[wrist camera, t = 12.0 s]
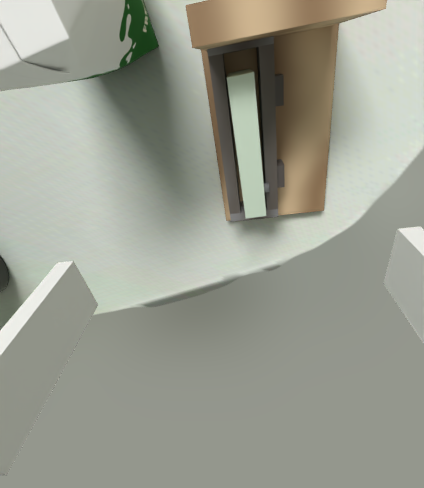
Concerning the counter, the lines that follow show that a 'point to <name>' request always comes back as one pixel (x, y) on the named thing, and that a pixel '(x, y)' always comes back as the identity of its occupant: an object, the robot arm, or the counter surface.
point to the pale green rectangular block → (247, 141)
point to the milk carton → (69, 39)
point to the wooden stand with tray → (275, 90)
